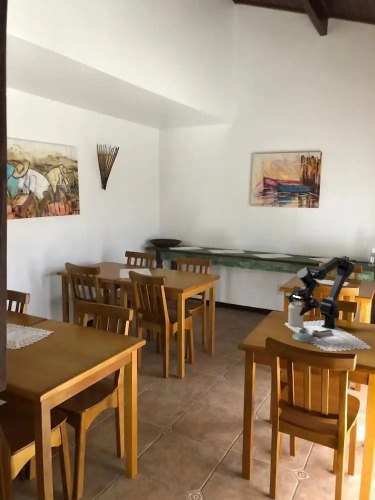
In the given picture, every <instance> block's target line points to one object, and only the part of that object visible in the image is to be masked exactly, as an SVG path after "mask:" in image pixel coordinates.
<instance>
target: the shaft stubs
mask: <svg viewBox="0 0 375 500" xmlns="http://www.w3.org/2000/svg"><path fill="white" fill-rule="evenodd" d="M298 330H299V331H298V333H306V327H304V324H303V325H302V326H301V327H298ZM311 335H313V336H314V337H317V338H321V336H322V337H326V336H327V335H329V336H333V329H326V330H316V329H313V330H312V333H311ZM327 337H328V336H327Z"/></svg>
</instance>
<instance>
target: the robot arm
mask: <svg viewBox="0 0 375 500" xmlns="http://www.w3.org/2000/svg"><path fill="white" fill-rule="evenodd" d="M334 269H336V277H335V279H334V281H333V284H332V286H331V288H330V291H329V293H328V296H327V297H326V298H322V299H321V302H319V301H318V299H316V298H314V297H313V296H314V292H315V290H316V288H320V286H321V285H320V283H319V281H323V280H324V279H325V278H326V277H327V275H328V273H330V272H332V271H333V270H334ZM354 269H355V265H354V263H353V262H350V261H347V260H345V259H344V258H343V257H339V256H335V257H333V258H332V259H330V260H329V261H327V262H326V263H323V264H322V265H320V266H315V267H312V268H311V269H309V268H308V267H303V268H302V269H299V270H298V271H297V273H296V276H297V278H298V279H299V280H300V282H301V283H303V284H304V285H303V286H295V285H293V288H292V291H291V292H290V291H288V292H286V293H285V294H284V296H285V298H287V300H288V307H287V312H288V313H289V305H290V303H291V302H301V303H304V305H303V306H304V307H303V309H302V311H301V313H300V316H302V315H303V314H304V315H305V314H306V313H308V312H310V311H312V310H315V309H316V310H318V309H319V312H320V313H319V314H320V315H321V316H323V317H324V319H323V322H324V323H323V324H322V325H321V328H322V327H323V328H327V329H329V330H334V329H335V328H338V325H337V324H336V319H338V318H340V312H339V310H338V302H337V300H338V298H339V295H340V293H341V291H342V288H343V286H344V284H345V281H346V280H347V278H348V277H350V276H351V275H352V273H353V271H354ZM317 280H318V281H317ZM295 294H296V295H295ZM304 315H303V316H304Z"/></svg>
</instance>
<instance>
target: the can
mask: <svg viewBox="0 0 375 500" xmlns="http://www.w3.org/2000/svg"><path fill="white" fill-rule="evenodd" d="M288 306H289V312H288V321H287V322H288V325H289V326H290V327H292V328H299V327H301V326H302V325H303V326H304V316H305V314H303V315H302V316H300V313H301V311H302V309H303V307H304V305H303V302H301V301H296V302H291V303H290V305H289V304H288Z"/></svg>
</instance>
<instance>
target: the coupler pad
mask: <svg viewBox="0 0 375 500" xmlns="http://www.w3.org/2000/svg"><path fill="white" fill-rule="evenodd" d="M291 338H292V340H293V341H294V342H295V341H296V342H297V343H298V342H299V343H312V342H313V341H314V340H315V338H314V336H313V335H312V333H306V332H305V333H299V332H296V333H293V334H292V335H291Z"/></svg>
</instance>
